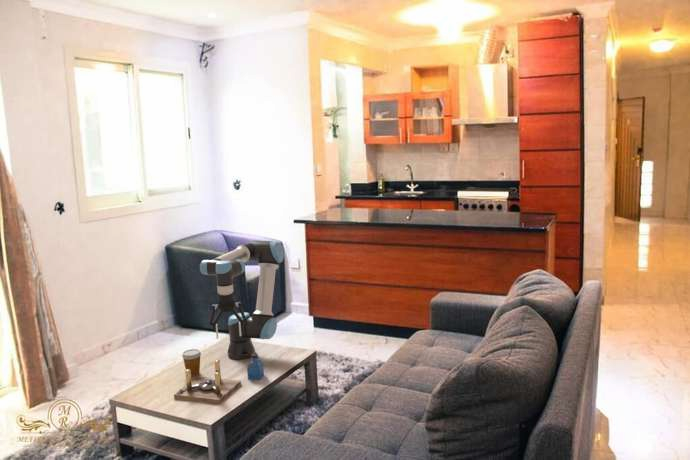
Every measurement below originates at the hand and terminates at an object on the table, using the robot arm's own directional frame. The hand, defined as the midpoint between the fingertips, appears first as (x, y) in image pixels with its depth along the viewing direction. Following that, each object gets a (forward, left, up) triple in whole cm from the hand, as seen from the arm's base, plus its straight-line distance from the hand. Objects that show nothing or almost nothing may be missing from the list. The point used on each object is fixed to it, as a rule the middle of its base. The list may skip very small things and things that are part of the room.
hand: (229, 336), depth 282 cm
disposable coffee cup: (-4, -25, -24) cm, 35 cm away
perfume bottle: (-8, +9, -24) cm, 27 cm away
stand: (+12, -6, -24) cm, 27 cm away
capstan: (+10, -6, -21) cm, 24 cm away
